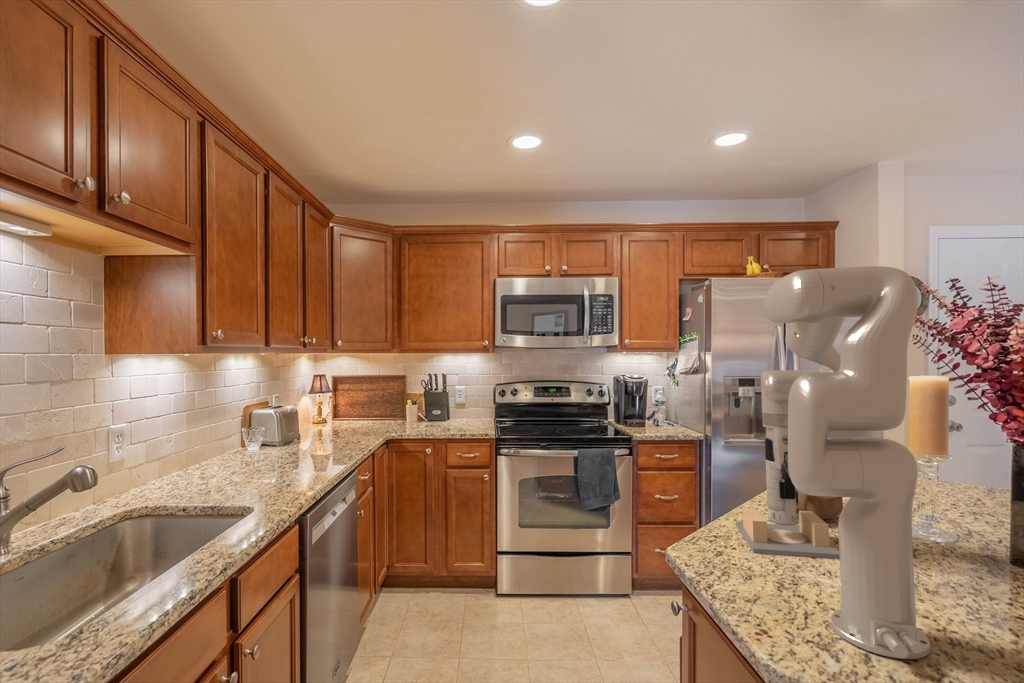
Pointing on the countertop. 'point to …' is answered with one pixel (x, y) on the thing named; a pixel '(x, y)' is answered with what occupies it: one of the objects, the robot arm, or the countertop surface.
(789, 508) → the spray can
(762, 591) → the countertop surface
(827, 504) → the bowl
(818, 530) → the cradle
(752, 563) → the countertop surface
